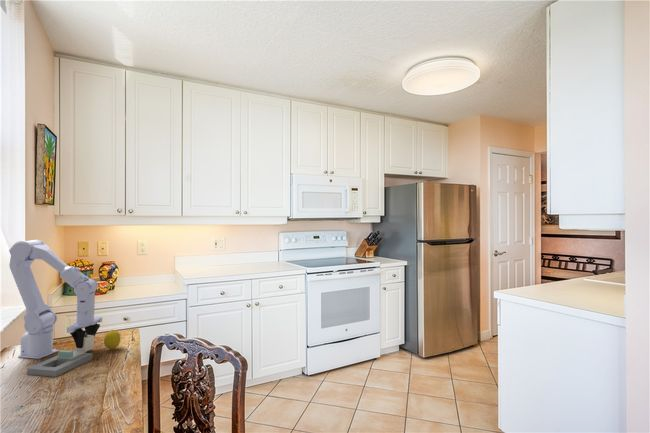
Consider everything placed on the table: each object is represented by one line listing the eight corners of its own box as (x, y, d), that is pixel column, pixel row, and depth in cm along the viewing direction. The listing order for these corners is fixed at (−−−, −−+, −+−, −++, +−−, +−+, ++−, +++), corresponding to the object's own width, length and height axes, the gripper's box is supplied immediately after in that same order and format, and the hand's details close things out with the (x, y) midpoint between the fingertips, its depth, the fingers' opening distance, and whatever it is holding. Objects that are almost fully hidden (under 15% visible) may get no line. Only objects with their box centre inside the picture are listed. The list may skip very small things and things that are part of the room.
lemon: (114, 352, 134) (115, 332, 134) (100, 352, 134) (101, 331, 134) (123, 347, 140) (123, 327, 140) (109, 347, 140) (110, 327, 140)
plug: (75, 351, 132) (75, 335, 132) (84, 347, 137) (84, 332, 137) (85, 351, 132) (85, 336, 132) (93, 347, 136) (94, 332, 136)
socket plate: (26, 374, 115) (27, 368, 115) (66, 356, 130) (66, 351, 130) (55, 376, 113) (55, 370, 113) (92, 358, 128) (92, 353, 128)
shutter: (56, 358, 123) (56, 351, 123) (71, 352, 129) (71, 345, 129) (71, 359, 122) (71, 352, 122) (85, 353, 128) (85, 346, 128)
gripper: (78, 316, 127) (77, 353, 126) (109, 306, 141) (108, 339, 141) (62, 315, 128) (61, 351, 127) (93, 305, 142) (92, 338, 142)
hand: (84, 345), depth 134 cm, fingers closed on plug, 4 cm apart
